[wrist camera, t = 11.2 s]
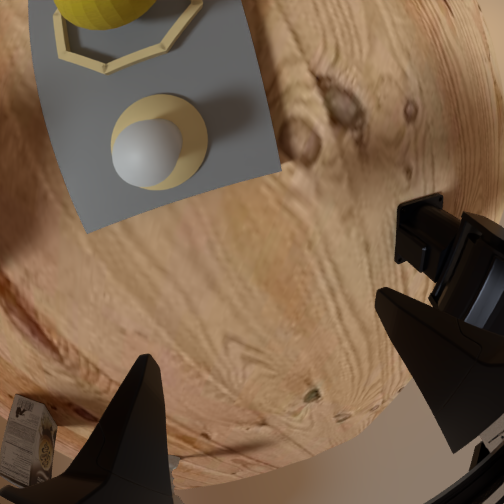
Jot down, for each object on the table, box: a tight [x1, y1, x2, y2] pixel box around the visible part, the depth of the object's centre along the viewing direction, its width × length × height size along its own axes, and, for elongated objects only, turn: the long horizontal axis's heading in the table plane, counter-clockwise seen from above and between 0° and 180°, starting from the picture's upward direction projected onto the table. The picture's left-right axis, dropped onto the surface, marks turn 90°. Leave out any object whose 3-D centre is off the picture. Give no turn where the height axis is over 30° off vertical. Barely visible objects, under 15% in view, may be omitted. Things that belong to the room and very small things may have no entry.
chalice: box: [168, 455, 184, 504], centre depth 33 cm, size 7×7×18 cm
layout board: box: [28, 0, 282, 234], centre depth 10 cm, size 14×20×6 cm
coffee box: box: [0, 394, 57, 488], centre depth 21 cm, size 9×6×16 cm
